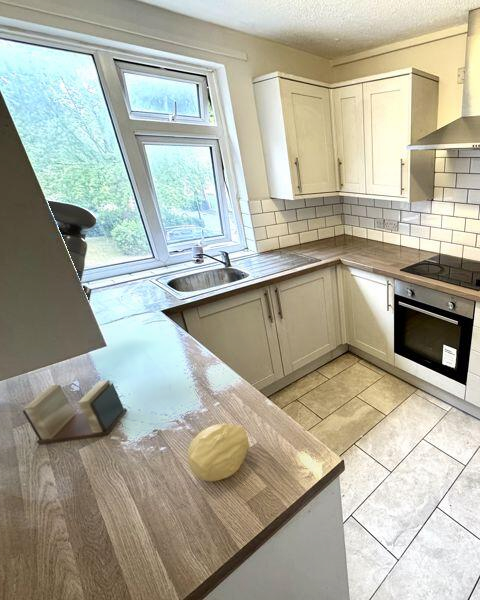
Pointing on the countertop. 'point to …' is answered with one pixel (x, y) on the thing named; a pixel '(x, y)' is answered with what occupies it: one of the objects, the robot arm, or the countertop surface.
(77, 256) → the robot arm
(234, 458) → the yellow lumpy ball
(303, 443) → the countertop surface
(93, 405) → the book rack
